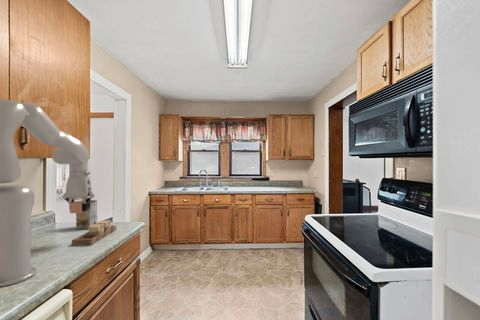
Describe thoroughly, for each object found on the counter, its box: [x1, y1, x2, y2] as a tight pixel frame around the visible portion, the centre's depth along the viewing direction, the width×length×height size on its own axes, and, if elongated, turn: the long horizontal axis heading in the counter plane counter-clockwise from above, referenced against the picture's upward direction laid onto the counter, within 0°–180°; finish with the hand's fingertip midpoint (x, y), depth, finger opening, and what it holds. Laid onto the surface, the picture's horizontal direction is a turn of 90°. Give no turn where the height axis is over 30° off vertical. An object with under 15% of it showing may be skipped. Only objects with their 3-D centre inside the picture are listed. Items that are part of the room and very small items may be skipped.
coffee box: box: [75, 199, 98, 230], centre depth 144 cm, size 9×6×16 cm
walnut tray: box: [71, 219, 117, 246], centre depth 126 cm, size 25×9×6 cm, turn 2°
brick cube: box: [69, 200, 83, 214], centre depth 119 cm, size 5×5×5 cm
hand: (78, 211), depth 118 cm, fingers closed on brick cube, 4 cm apart
